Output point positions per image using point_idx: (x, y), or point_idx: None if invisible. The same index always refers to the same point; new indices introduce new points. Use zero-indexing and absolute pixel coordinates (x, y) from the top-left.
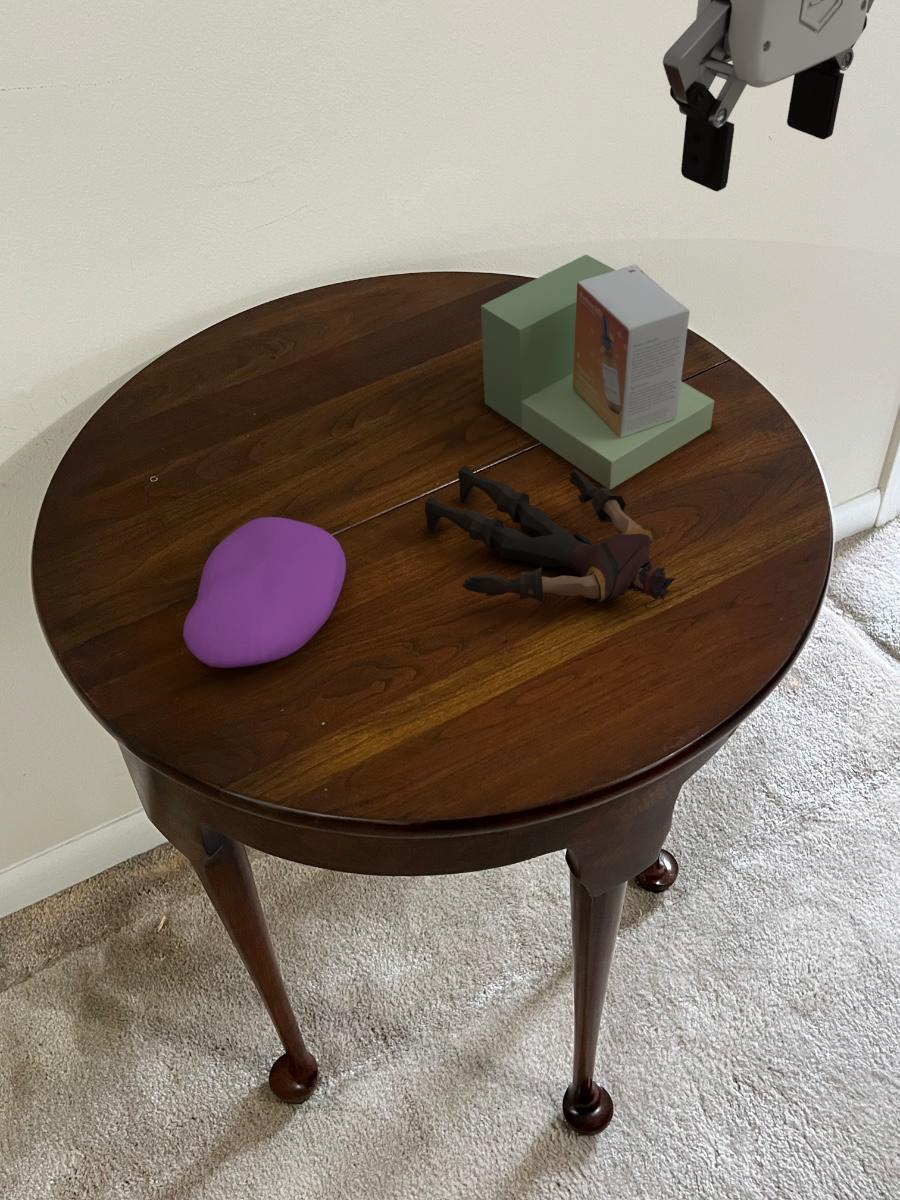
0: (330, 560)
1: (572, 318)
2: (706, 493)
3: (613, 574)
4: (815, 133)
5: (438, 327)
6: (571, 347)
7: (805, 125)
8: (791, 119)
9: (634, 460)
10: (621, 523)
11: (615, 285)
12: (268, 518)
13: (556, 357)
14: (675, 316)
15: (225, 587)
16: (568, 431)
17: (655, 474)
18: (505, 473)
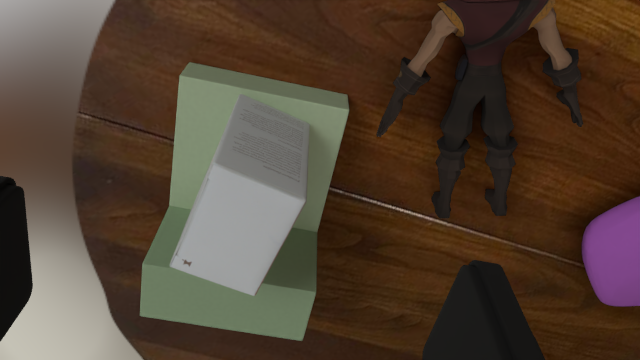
0: (621, 230)
1: None
2: (288, 6)
3: (529, 3)
4: (21, 213)
5: (238, 341)
6: None
7: (18, 255)
8: (22, 298)
9: (313, 95)
10: (441, 44)
11: (231, 261)
12: (608, 296)
13: None
14: (236, 170)
15: None
16: (331, 171)
17: (295, 69)
18: (382, 187)
